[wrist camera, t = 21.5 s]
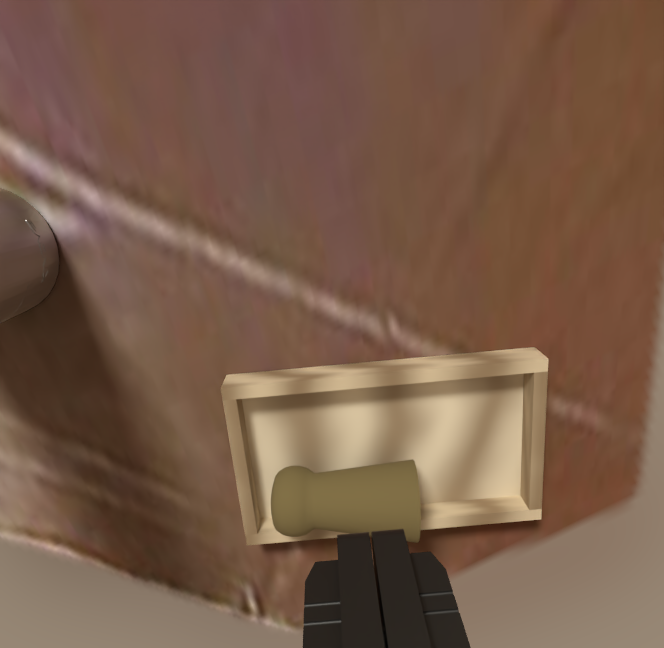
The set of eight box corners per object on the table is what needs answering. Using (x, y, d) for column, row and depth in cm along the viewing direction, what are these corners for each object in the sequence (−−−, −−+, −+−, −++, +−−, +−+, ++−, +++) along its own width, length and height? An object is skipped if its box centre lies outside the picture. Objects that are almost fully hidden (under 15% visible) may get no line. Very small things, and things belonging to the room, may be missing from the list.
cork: (415, 447, 38) (269, 448, 38) (423, 532, 34) (263, 533, 34) (408, 473, 43) (279, 474, 43) (414, 550, 39) (274, 550, 39)
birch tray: (250, 524, 43) (246, 545, 41) (226, 374, 39) (220, 388, 36) (528, 499, 43) (541, 519, 40) (534, 347, 39) (548, 358, 36)
